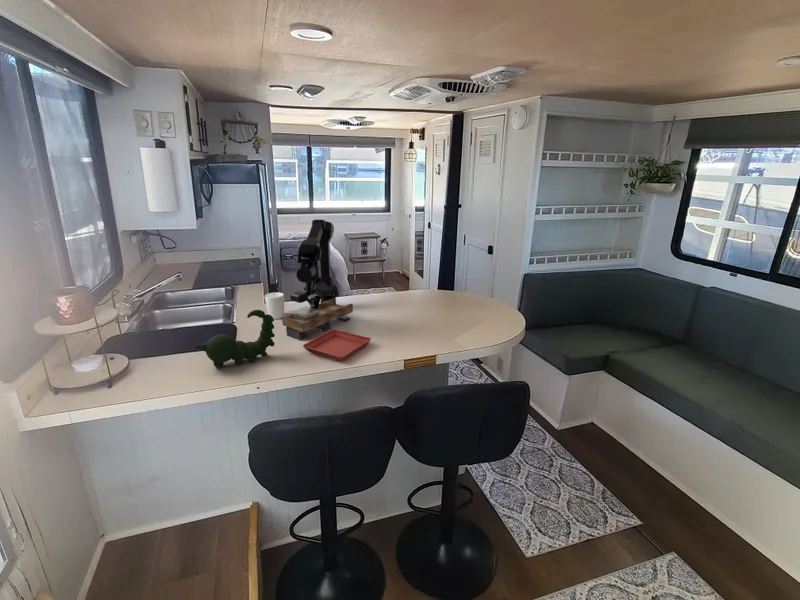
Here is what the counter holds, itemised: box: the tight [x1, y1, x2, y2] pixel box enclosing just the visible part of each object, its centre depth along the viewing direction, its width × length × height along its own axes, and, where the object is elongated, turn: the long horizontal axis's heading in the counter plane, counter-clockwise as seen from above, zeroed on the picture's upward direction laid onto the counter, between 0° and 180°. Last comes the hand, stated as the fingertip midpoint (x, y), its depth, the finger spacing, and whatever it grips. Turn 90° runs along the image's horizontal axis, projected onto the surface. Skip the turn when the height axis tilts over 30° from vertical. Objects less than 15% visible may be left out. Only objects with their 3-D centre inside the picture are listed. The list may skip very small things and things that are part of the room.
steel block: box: [292, 305, 319, 322], centre depth 165 cm, size 7×7×4 cm
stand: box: [285, 315, 351, 341], centre depth 172 cm, size 27×10×4 cm, turn 142°
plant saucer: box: [302, 328, 372, 362], centre depth 153 cm, size 18×18×3 cm
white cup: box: [264, 292, 285, 320], centre depth 184 cm, size 8×8×10 cm
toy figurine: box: [194, 309, 276, 369], centre depth 141 cm, size 9×19×25 cm
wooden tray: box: [281, 299, 354, 332], centre depth 171 cm, size 27×13×4 cm, turn 142°
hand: (315, 312), depth 169 cm, fingers closed
